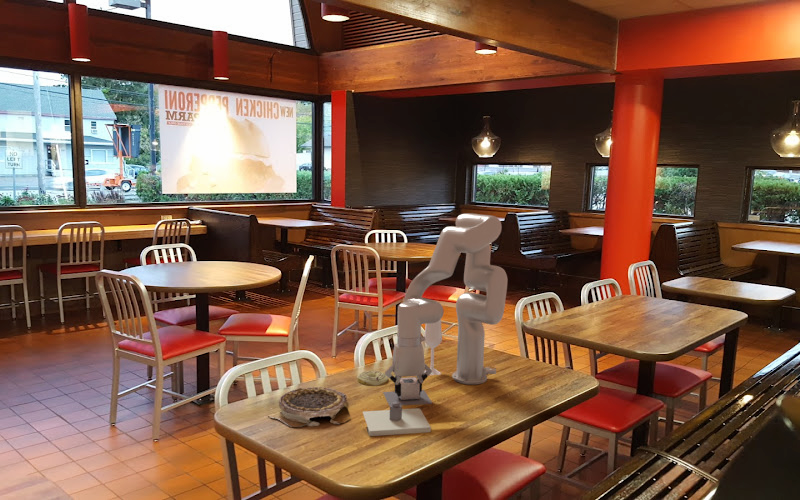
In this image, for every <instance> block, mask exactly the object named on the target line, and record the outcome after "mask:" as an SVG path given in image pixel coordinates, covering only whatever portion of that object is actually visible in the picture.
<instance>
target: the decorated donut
mask: <svg viewBox="0 0 800 500" xmlns="http://www.w3.org/2000/svg"><path fill="white" fill-rule="evenodd" d="M356 377H357V378H356V379H357V382H358V383H359V384H362V385H367V386H376V387H377V386H380V385H385V384H387V382H388V380H389V378H388V377H387V376H386V375H385V372H380V371H376V370H368V371H367V370H366V371H363V372H360V373H359V374H358V375H357V376H356Z"/></svg>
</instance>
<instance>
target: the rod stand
mask: <svg viewBox="0 0 800 500" xmlns="http://www.w3.org/2000/svg"><path fill="white" fill-rule="evenodd" d="M382 393H383V395H384V397H385V400H386V402H387V404H388V406H389V407H390V406H392V403H393V402H399V403H400V406H402V407H404V406H415V405H416V406H418V405H432V404H433V402H432V399H430V397H429V396H428V393H426V391H425V389H422V392H420V395H419V399H407V400H401V399H400V397H398V396H397V394H396V393H395V390H394V391H382Z"/></svg>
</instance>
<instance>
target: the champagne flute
mask: <svg viewBox="0 0 800 500" xmlns="http://www.w3.org/2000/svg"><path fill="white" fill-rule="evenodd" d="M424 325H425V327H424V334H423V337H425V341H424V343H425V344H426V345H427V346H428V347H429V348H430V367H429V368H430V369H431V370H432V373H431V374H430V375H429V376H436V375H437V376H440V375H441V372H440V371H439V370H437V369H436V368H434V367H435V366H434V365H435V348H437V347H438V346H440V345H441V343H442V341H443V331H442V318H441V319H440V320H439V321H438V322H436V323H431V324H424ZM425 372H426V370H425ZM425 372H424V373H425Z"/></svg>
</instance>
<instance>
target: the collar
mask: <svg viewBox="0 0 800 500" xmlns="http://www.w3.org/2000/svg"><path fill="white" fill-rule="evenodd" d="M417 379H418V378H417V376H416V377H415V376H410V377H401V380H400V382H399V384H400V399H401V400H407V399H419V390H420V384H419V382H418V380H417Z"/></svg>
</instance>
